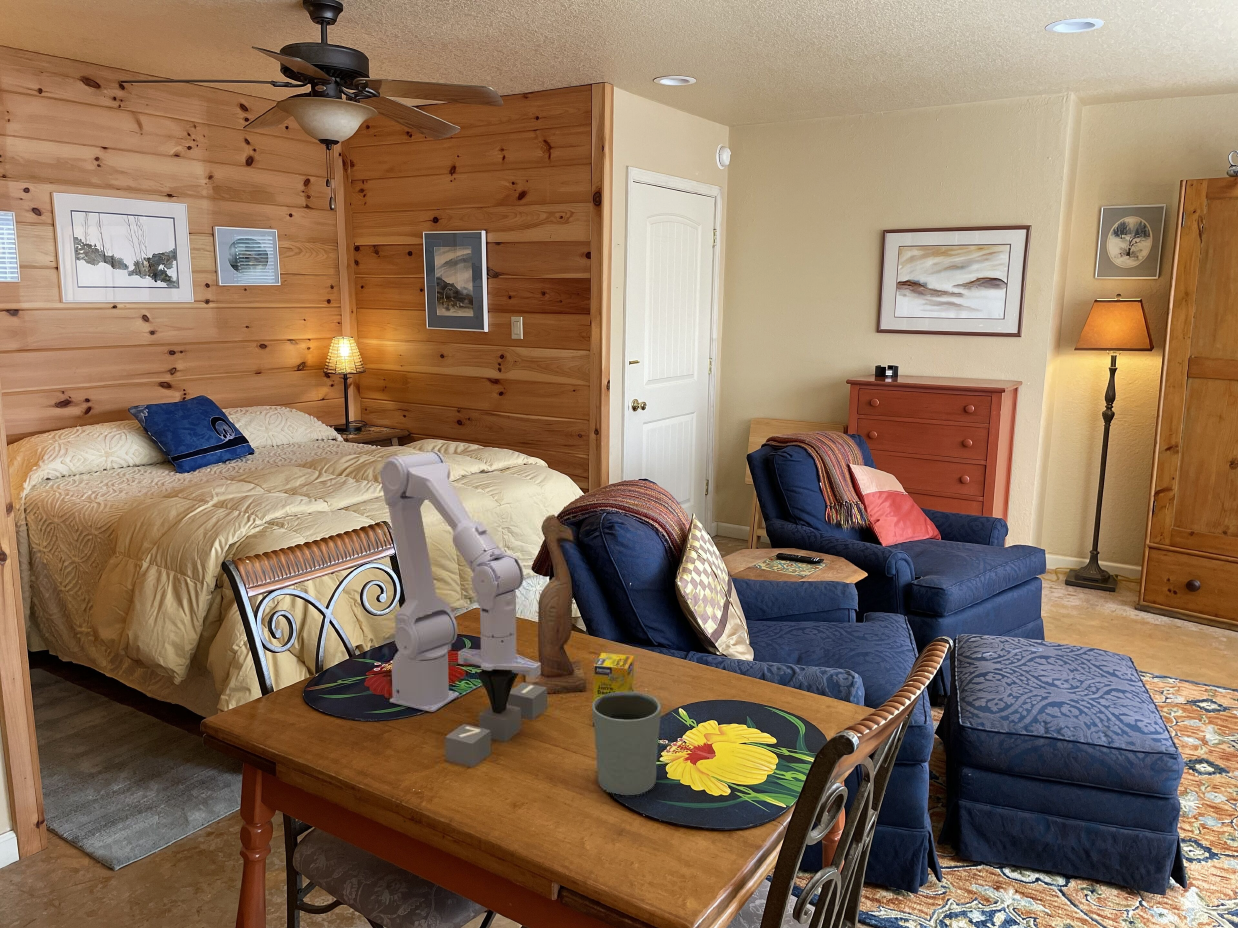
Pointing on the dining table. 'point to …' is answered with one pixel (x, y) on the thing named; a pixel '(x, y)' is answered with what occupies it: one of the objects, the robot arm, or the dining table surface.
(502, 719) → the plain block
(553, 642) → the bird sculpture
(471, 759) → the block seven
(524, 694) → the block one
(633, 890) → the dining table surface
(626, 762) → the grey cup
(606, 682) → the supplement box
